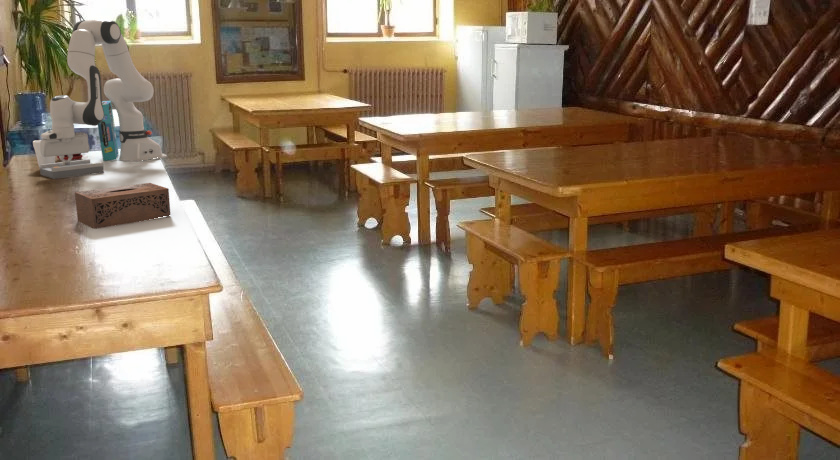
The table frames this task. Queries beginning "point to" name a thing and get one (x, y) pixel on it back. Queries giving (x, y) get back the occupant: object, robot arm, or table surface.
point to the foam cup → (40, 158)
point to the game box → (108, 133)
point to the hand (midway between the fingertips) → (66, 165)
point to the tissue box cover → (122, 205)
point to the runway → (71, 169)
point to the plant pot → (75, 157)
